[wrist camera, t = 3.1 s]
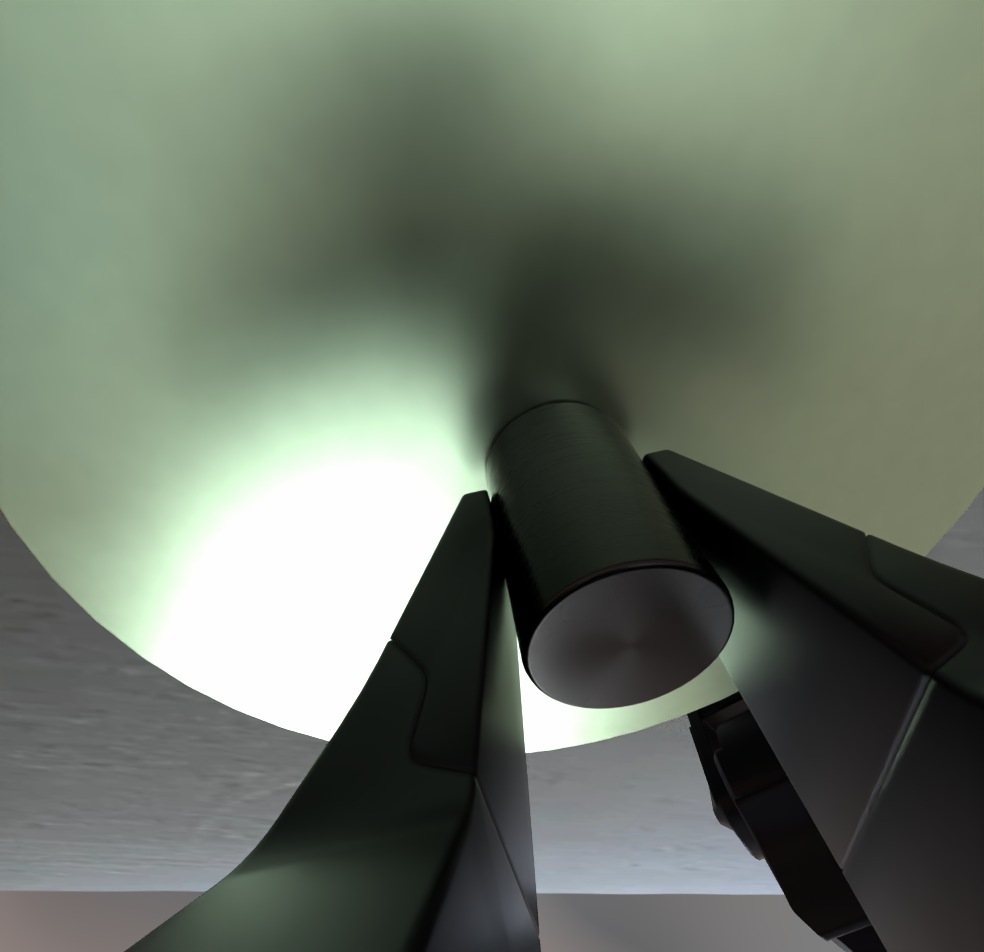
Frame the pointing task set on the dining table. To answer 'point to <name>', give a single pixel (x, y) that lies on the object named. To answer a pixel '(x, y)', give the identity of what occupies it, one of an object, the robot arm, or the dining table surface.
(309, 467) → the bin lid
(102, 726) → the dining table surface
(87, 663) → the dining table surface
